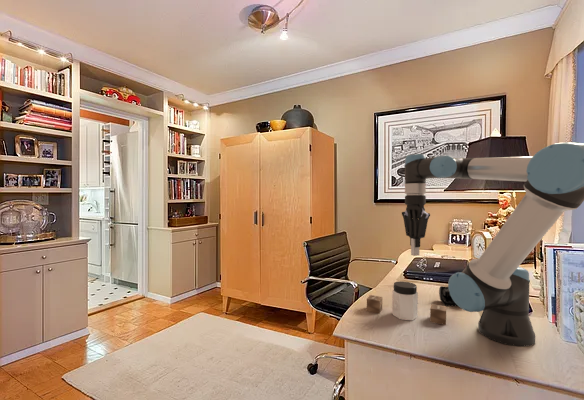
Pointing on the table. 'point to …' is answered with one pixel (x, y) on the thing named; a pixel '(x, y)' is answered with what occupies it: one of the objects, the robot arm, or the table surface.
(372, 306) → the walnut block
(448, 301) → the end cap
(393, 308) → the jar
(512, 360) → the table surface
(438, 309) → the walnut block
